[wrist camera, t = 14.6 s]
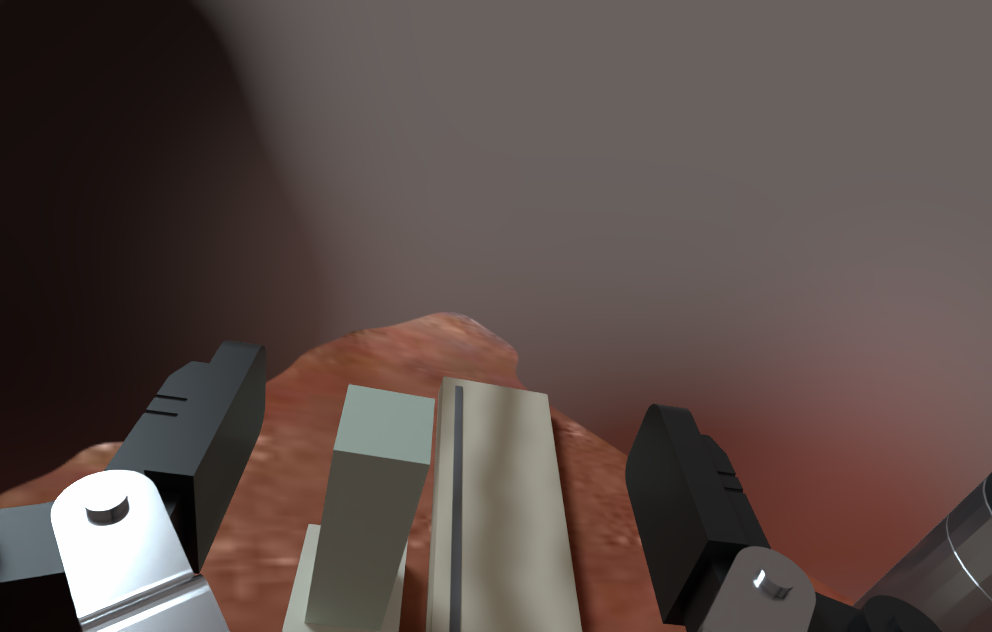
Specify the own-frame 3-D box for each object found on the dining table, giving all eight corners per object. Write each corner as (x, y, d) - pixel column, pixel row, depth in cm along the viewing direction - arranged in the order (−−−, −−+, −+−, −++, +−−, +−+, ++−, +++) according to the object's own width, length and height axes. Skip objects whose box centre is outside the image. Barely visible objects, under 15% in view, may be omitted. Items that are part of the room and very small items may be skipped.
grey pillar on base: (400, 560, 41) (456, 375, 32) (386, 694, 34) (451, 507, 25) (305, 548, 40) (334, 352, 31) (272, 683, 33) (297, 484, 24)
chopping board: (540, 410, 56) (547, 393, 54) (584, 749, 35) (597, 732, 33) (438, 393, 54) (443, 375, 53) (419, 738, 33) (427, 719, 32)
